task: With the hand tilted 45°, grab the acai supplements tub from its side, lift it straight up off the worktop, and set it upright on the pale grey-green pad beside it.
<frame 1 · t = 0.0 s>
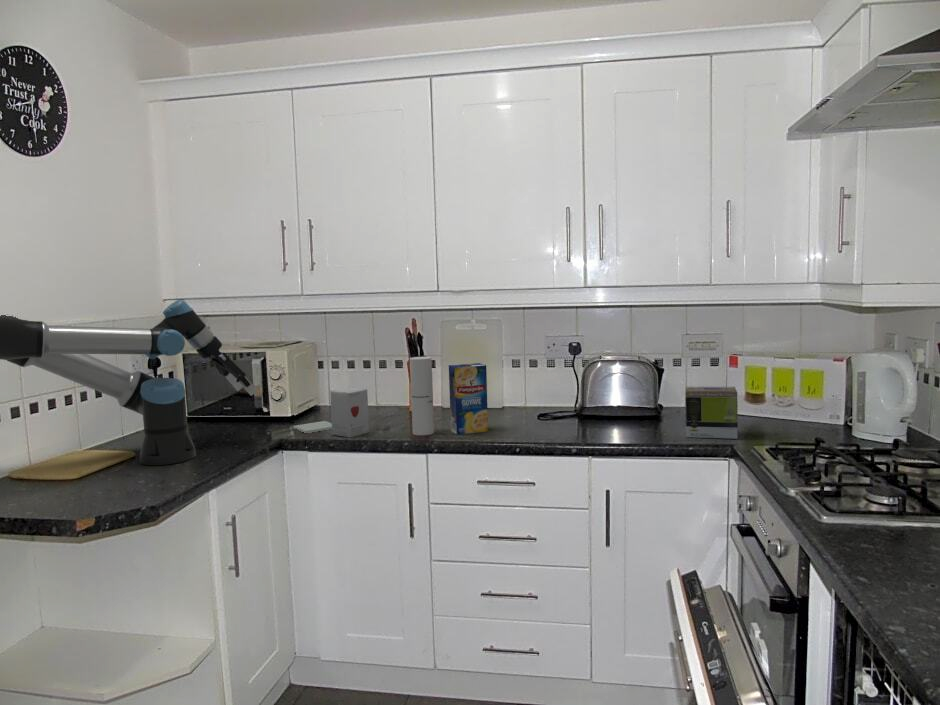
hand: (247, 390, 227), 15 cm above the counter, tool tilted 35°, fingers open, 13 cm apart
pad: (315, 428, 237), on the counter
tea box: (710, 435, 211), on the counter
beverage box: (469, 431, 227), on the counter
supplement box: (350, 434, 227), on the counter
cylindrical container: (423, 433, 225), on the counter
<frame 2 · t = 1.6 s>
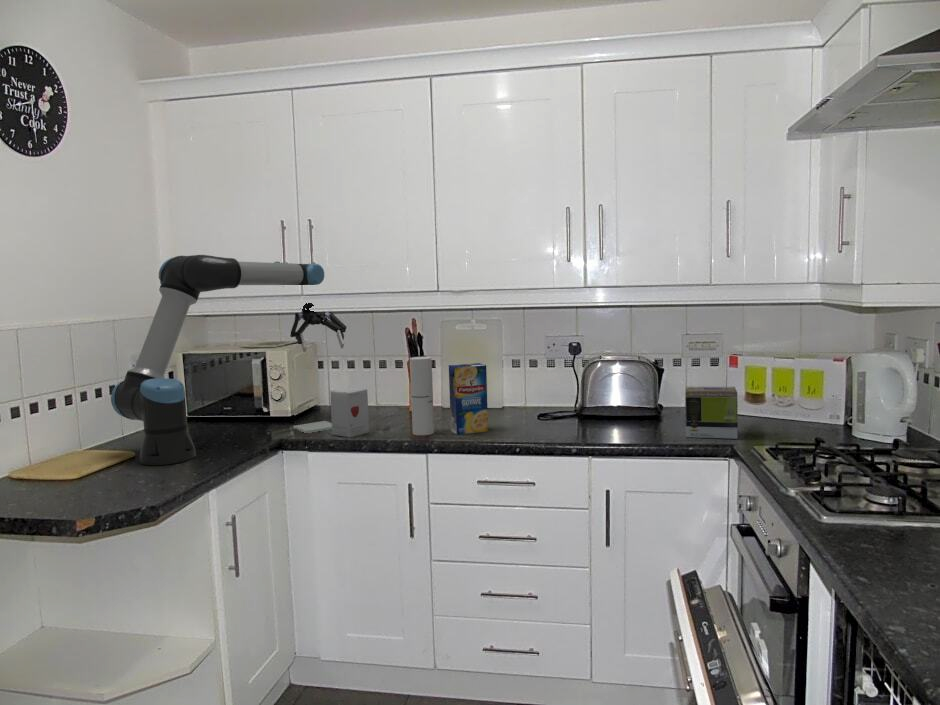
hand: (324, 348, 242), 27 cm above the counter, tool tilted 45°, fingers open, 13 cm apart
nothing on the counter moved.
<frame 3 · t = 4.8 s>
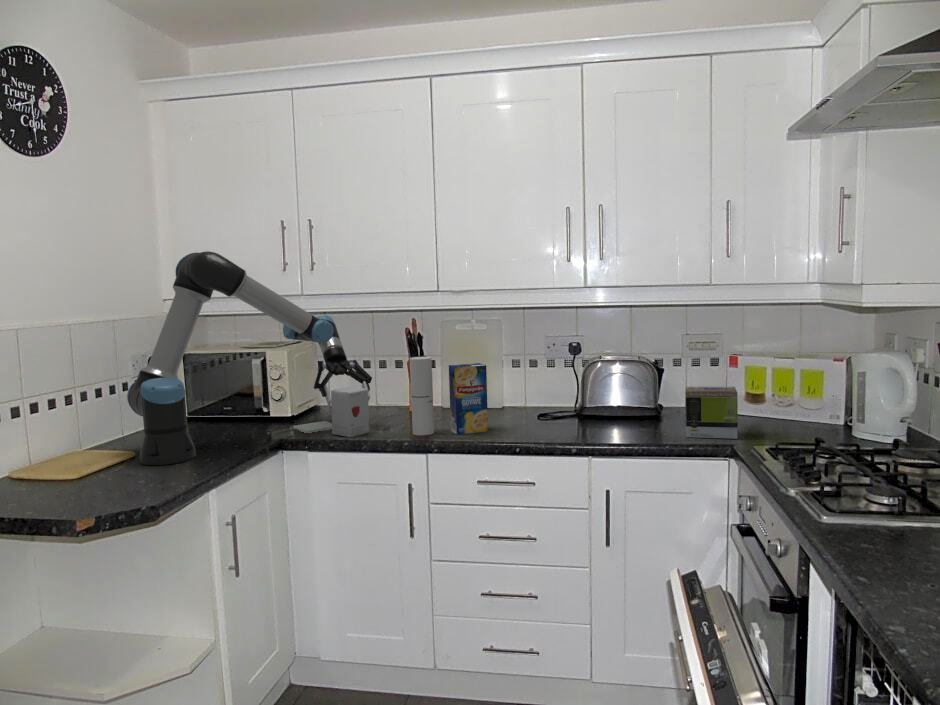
hand: (349, 401, 229), 11 cm above the counter, tool tilted 45°, fingers open, 13 cm apart
supplement box: (350, 434, 227), on the counter, touching gripper
everything else where it was.
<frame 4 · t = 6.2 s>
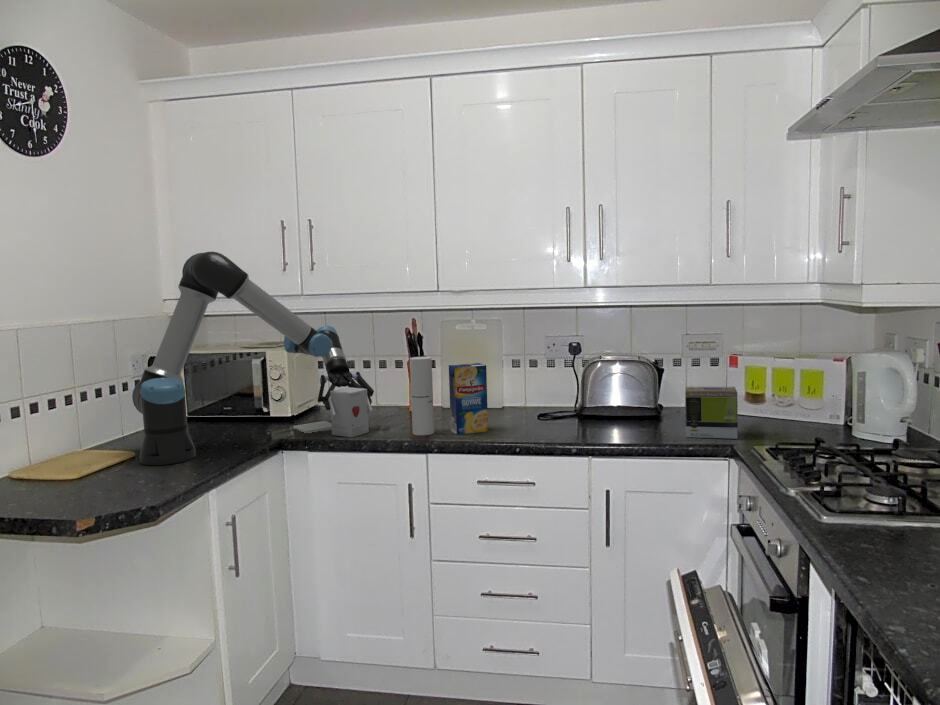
hand: (352, 414, 224), 7 cm above the counter, tool tilted 45°, fingers closed on supplement box, 12 cm apart
supplement box: (350, 434, 227), on the counter, touching gripper
everything else where it was.
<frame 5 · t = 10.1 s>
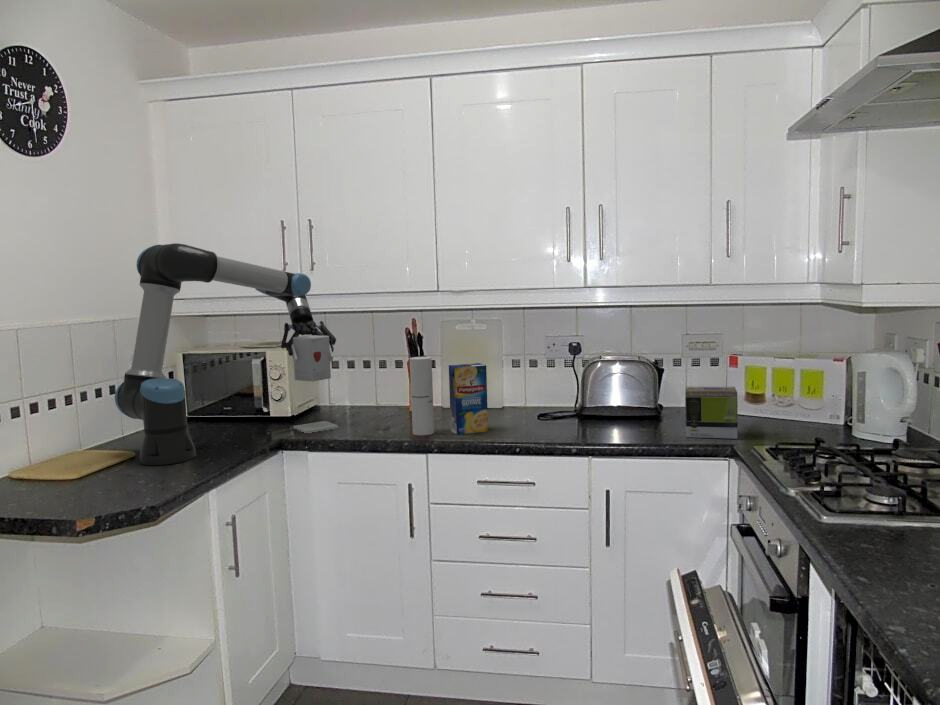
hand: (314, 360, 232), 24 cm above the counter, tool tilted 45°, fingers closed on supplement box, 12 cm apart
supplement box: (313, 379, 235), point 17 cm above the counter, touching gripper
everything else where it was.
when the fingers open (9 cm above the counter, at t = 13.5 s): supplement box drops 1 cm, resting on pad.
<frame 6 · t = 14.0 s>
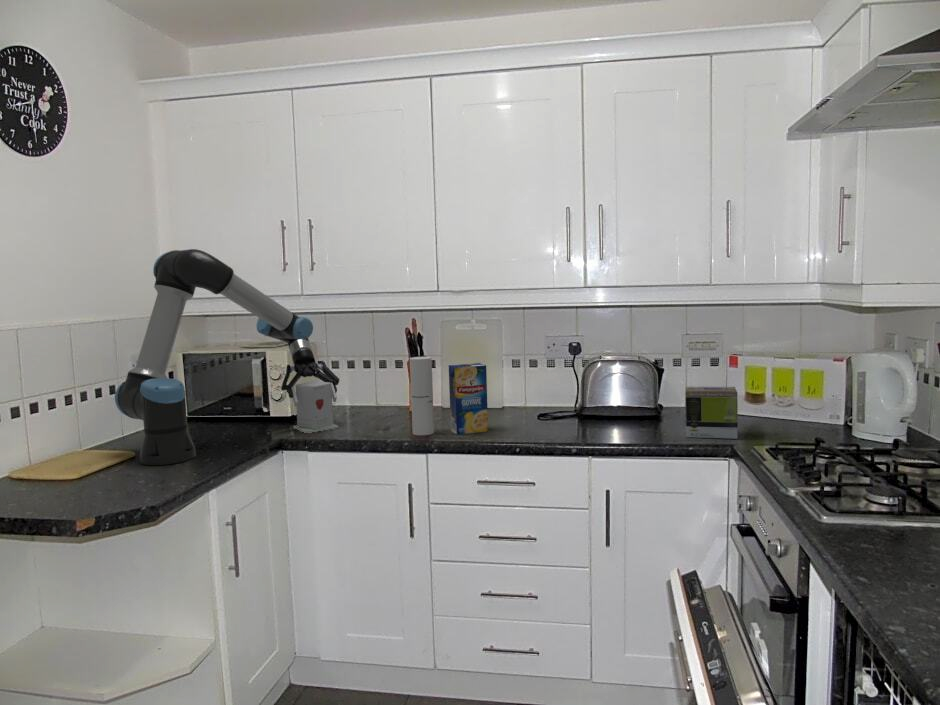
hand: (316, 402, 234), 10 cm above the counter, tool tilted 45°, fingers open, 13 cm apart
supplement box: (315, 426, 237), point 1 cm above the counter, touching pad
everything else where it was.
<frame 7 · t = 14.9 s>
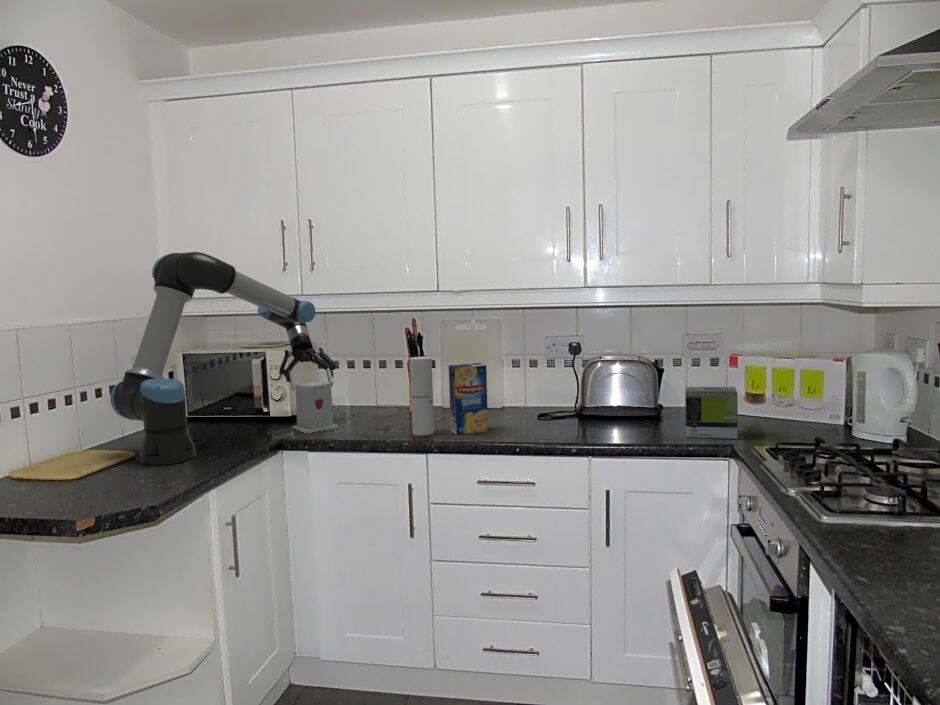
hand: (312, 386, 239), 14 cm above the counter, tool tilted 45°, fingers open, 13 cm apart
nothing on the counter moved.
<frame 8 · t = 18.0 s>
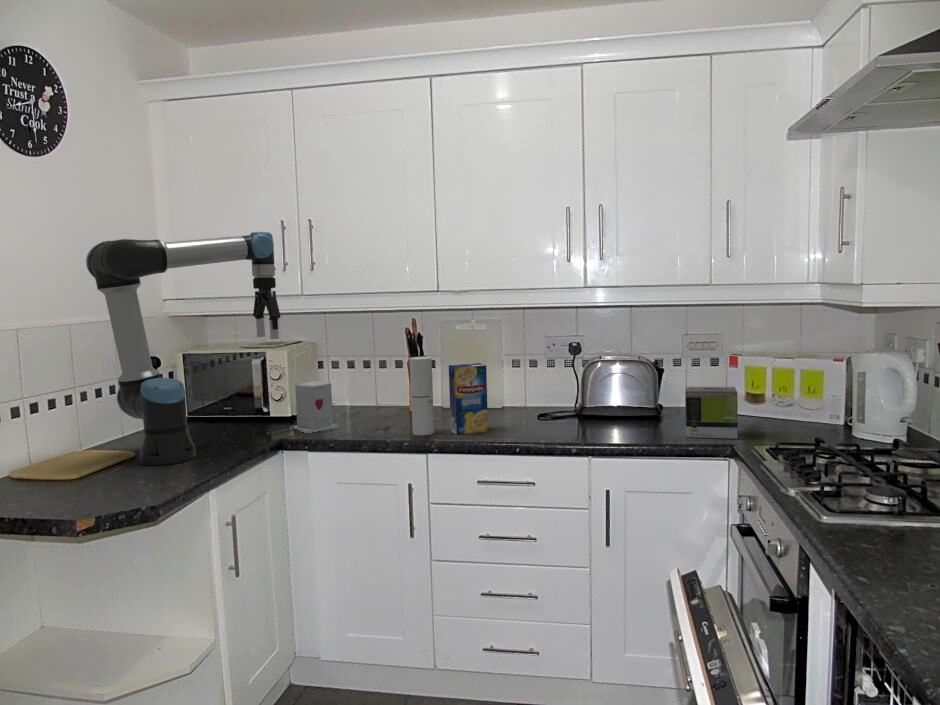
hand: (267, 338, 239), 32 cm above the counter, tool pointing down, fingers open, 13 cm apart
nothing on the counter moved.
at the end: supplement box inside the target area on the pad (0.1 cm from its centre), point 0.8 cm above the pad's base; supplement box tilted 0°; the gripper is holding nothing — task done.
